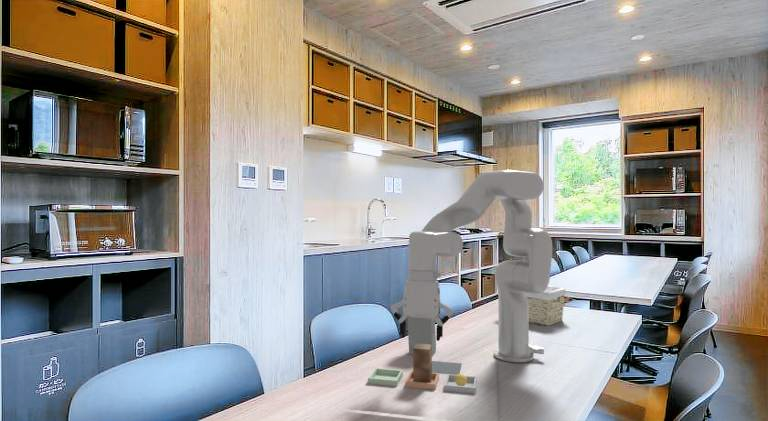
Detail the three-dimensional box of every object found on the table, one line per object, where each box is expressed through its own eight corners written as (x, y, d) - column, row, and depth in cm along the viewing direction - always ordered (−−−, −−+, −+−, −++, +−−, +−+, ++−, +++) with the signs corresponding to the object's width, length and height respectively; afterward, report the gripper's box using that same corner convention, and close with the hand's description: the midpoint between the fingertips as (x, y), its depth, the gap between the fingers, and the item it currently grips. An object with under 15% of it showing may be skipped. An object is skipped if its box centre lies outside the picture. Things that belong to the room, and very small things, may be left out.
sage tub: (402, 377, 129) (402, 370, 129) (396, 388, 121) (396, 380, 121) (375, 374, 131) (375, 367, 131) (367, 385, 123) (367, 378, 123)
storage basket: (567, 321, 193) (567, 287, 193) (549, 327, 182) (549, 292, 182) (517, 311, 211) (517, 280, 211) (498, 317, 200) (498, 284, 199)
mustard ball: (467, 384, 122) (467, 372, 122) (466, 388, 119) (466, 376, 119) (455, 383, 123) (455, 371, 123) (454, 387, 120) (454, 375, 120)
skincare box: (436, 351, 153) (436, 304, 153) (431, 357, 146) (431, 309, 146) (412, 348, 155) (412, 303, 155) (406, 354, 149) (406, 307, 149)
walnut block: (431, 380, 125) (431, 344, 125) (429, 386, 121) (429, 349, 121) (416, 378, 126) (415, 343, 126) (413, 384, 122) (413, 348, 122)
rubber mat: (461, 365, 139) (461, 363, 139) (459, 376, 129) (459, 374, 129) (429, 362, 141) (429, 360, 141) (425, 374, 131) (425, 372, 131)
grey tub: (476, 383, 124) (476, 376, 124) (475, 395, 116) (475, 388, 116) (447, 381, 126) (447, 374, 126) (444, 392, 118) (444, 385, 118)
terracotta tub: (439, 380, 126) (439, 373, 126) (435, 391, 118) (435, 384, 118) (410, 377, 128) (410, 370, 128) (405, 389, 120) (405, 381, 120)
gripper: (454, 275, 125) (453, 337, 125) (394, 273, 129) (393, 332, 129) (452, 279, 117) (451, 344, 117) (388, 276, 122) (387, 339, 121)
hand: (421, 338), depth 123 cm, fingers open, 9 cm apart
